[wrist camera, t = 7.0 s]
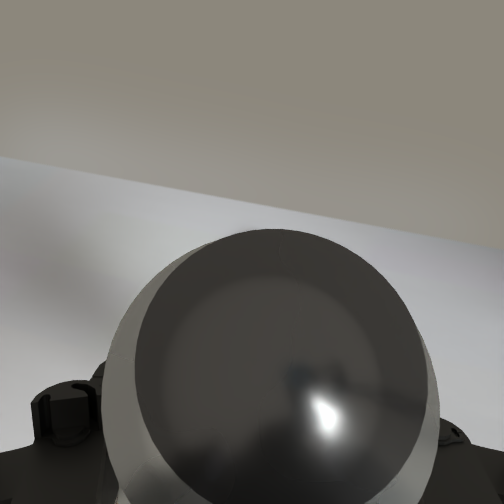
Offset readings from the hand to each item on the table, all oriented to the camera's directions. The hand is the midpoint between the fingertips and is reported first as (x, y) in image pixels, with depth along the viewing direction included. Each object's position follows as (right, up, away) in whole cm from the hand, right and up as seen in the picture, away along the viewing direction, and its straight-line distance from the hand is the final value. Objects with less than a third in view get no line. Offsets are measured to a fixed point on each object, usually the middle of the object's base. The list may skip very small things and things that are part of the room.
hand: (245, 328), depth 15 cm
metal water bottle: (0, -6, +3) cm, 6 cm away
